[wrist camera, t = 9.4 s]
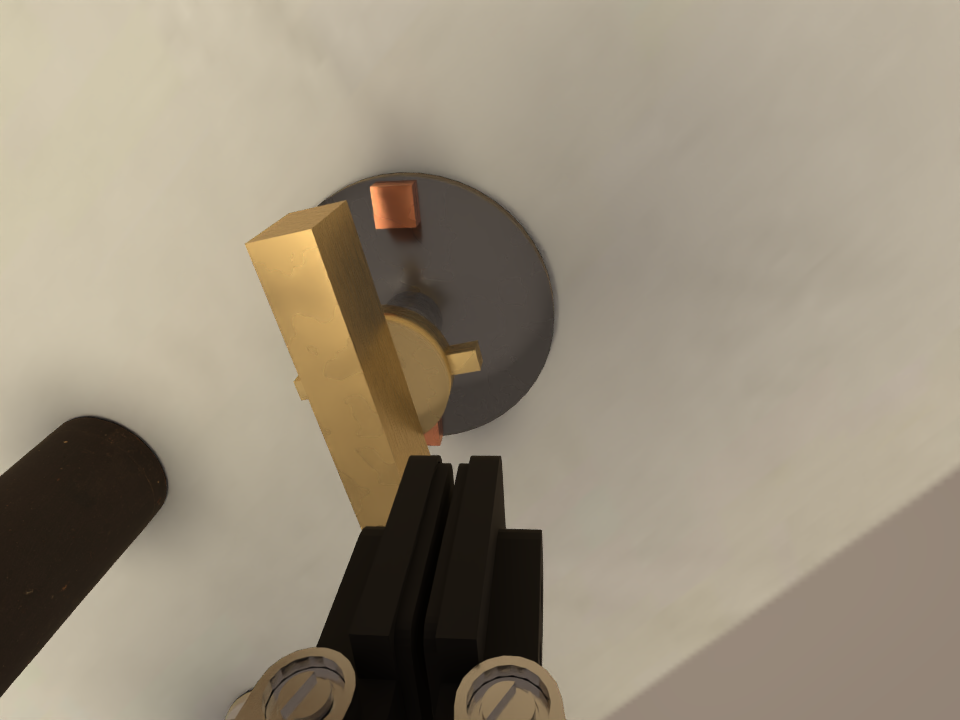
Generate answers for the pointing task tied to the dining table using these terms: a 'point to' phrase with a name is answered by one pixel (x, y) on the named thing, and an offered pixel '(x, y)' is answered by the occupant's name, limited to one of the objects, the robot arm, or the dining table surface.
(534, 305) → the post base
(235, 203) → the dining table surface
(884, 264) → the dining table surface
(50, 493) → the container
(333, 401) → the gold bar handle
